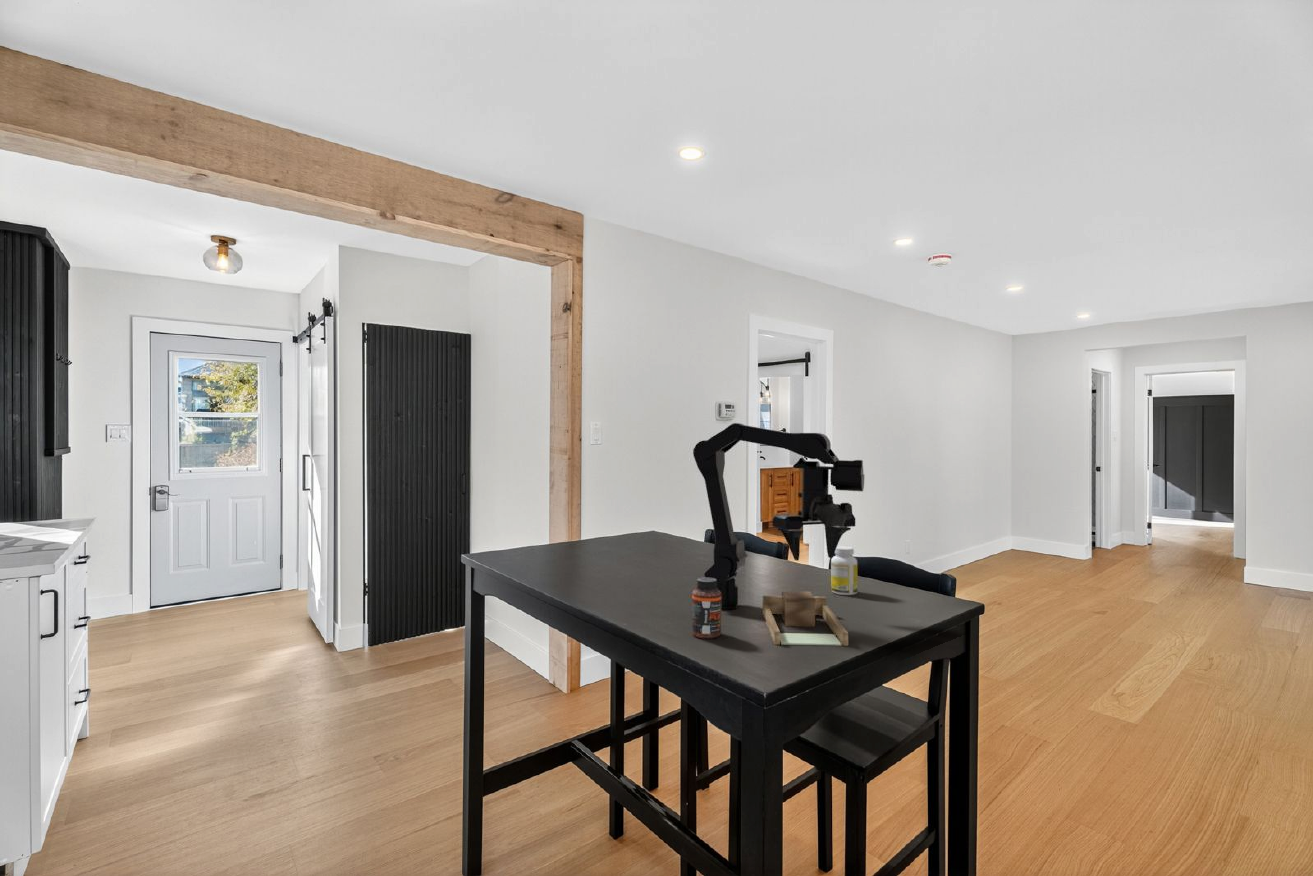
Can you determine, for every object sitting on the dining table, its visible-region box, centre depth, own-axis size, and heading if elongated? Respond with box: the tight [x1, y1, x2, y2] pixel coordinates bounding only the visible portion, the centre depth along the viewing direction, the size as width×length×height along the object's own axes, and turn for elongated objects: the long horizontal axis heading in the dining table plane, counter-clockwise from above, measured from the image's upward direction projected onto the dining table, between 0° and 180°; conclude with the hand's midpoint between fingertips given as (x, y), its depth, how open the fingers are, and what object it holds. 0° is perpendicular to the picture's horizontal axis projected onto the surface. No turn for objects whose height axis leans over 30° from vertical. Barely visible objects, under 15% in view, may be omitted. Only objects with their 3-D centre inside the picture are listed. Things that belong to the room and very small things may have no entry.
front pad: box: [780, 632, 842, 647], centre depth 122 cm, size 11×6×1 cm, turn 86°
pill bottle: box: [830, 545, 859, 596], centre depth 159 cm, size 6×6×12 cm
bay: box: [762, 595, 849, 647], centre depth 130 cm, size 14×21×4 cm, turn 176°
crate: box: [781, 590, 816, 627], centre depth 134 cm, size 6×6×6 cm
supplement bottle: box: [691, 576, 722, 640], centre depth 125 cm, size 6×6×11 cm
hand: (813, 558), depth 138 cm, fingers open, 9 cm apart
